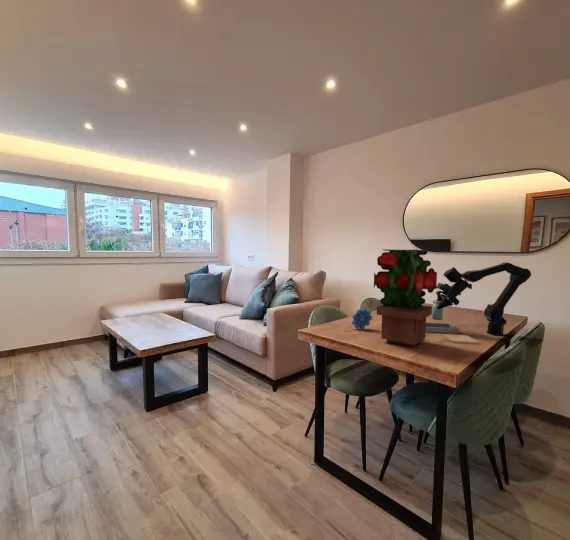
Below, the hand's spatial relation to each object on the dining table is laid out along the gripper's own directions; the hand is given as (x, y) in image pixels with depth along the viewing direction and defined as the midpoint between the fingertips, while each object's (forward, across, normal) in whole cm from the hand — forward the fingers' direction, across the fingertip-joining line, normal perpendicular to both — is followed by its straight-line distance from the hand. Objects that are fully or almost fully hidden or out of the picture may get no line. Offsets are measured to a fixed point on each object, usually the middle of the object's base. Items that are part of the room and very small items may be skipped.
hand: (435, 307), depth 166 cm
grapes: (+38, +1, -19) cm, 42 cm away
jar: (+4, 0, +5) cm, 6 cm away
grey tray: (+8, 0, +10) cm, 13 cm away
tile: (+4, +15, +14) cm, 21 cm away
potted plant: (+26, +24, -7) cm, 36 cm away
